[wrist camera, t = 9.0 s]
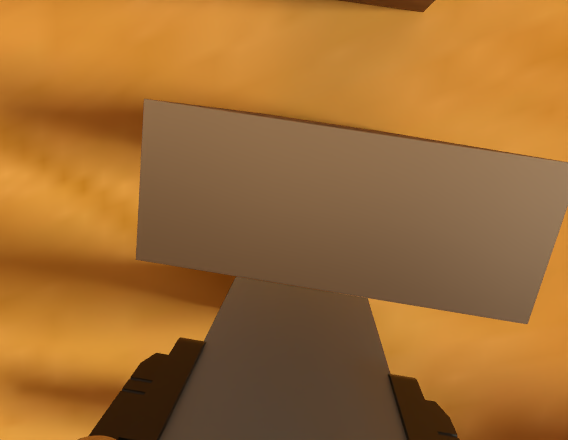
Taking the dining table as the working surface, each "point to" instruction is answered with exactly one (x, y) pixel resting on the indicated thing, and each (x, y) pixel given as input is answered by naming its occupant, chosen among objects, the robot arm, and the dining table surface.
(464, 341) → the dining table surface
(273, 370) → the domino
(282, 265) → the domino
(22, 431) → the dining table surface
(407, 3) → the domino
